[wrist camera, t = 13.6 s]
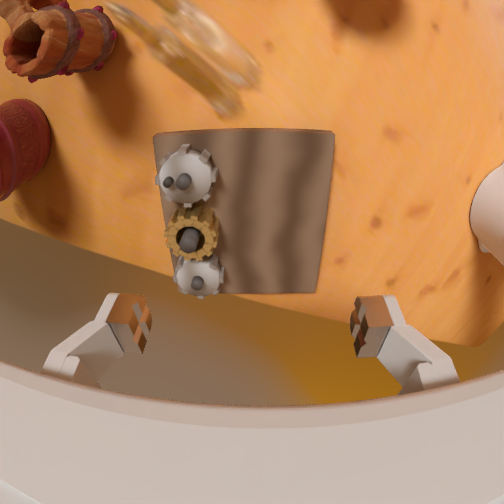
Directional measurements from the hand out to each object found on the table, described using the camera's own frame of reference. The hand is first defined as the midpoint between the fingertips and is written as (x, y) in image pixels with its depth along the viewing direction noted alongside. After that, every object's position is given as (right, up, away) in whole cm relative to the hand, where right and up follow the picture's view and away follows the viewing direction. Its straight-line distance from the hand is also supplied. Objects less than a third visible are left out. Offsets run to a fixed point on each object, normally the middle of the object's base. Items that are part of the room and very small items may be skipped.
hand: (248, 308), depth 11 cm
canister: (-34, +19, +21) cm, 44 cm away
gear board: (-1, +7, +29) cm, 30 cm away
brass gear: (-7, +6, +28) cm, 29 cm away
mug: (-20, +30, +13) cm, 38 cm away
